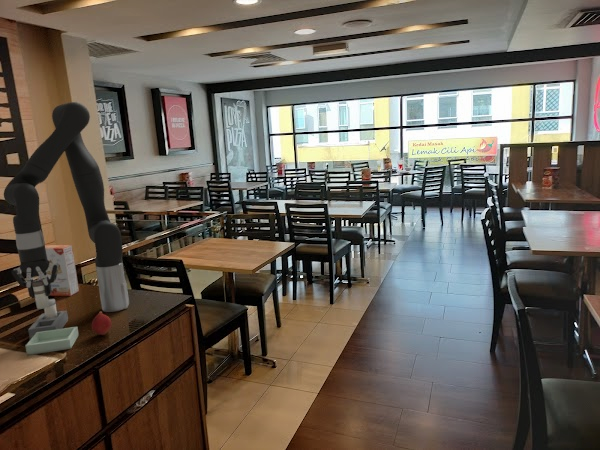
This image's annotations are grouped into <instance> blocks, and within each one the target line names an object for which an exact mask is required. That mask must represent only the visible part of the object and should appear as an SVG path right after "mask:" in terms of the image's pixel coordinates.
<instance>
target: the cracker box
mask: <svg viewBox="0 0 600 450" xmlns="http://www.w3.org/2000/svg"><path fill="white" fill-rule="evenodd" d="M45 249H46V254H47V259H48V261H49V262H50V263H52V264H56V263H58V264H59V268H58V273H57V277H56V280H55V281H54V282H53V283H51V289H52V292H51V294H50V295H49V296H51V297H71V296H74V295H75V294H78V293H79V292H80V288H79V281H78V276H77V275H78V274H77V270H76V269H77V268H76V264H75V258H74V256H75V255H74V250H73V245H72V244H65V245H64V244H56V245H55V244H53V245H50V244H49V245H46V244H45ZM47 273H48V277H49V279H50V278H51V273H52V270H50V267H48V269H47ZM37 278H38V279H41V278H40V276H37ZM38 279H37V280H38ZM49 296H48V297H49Z"/></svg>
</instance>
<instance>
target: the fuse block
mask: <svg viewBox="0 0 600 450" xmlns="http://www.w3.org/2000/svg"><path fill="white" fill-rule="evenodd" d="M57 315H58V317H56V318H48V319H46V317H45V312H44V313H41V315H39V317H38V318H37V319H36V320H34V322H33V323H32V325H31V326H30V327H29V328H28V337H29V341H30V340H31V338H32V337H33V336H34V335H35V334H36V332H42V331H49V330H56V329H63V328H64V326H65V325H66V323H67V322H68V321H69V315H68V311H67V310H60V311H57Z"/></svg>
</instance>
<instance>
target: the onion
mask: <svg viewBox="0 0 600 450" xmlns="http://www.w3.org/2000/svg"><path fill="white" fill-rule="evenodd" d="M112 326H113V325H112V319H111V318H110V317H109V316H108V315H106V314H104V313H103V311H99V313H98V314H97V315H96V316H95V317H94V318H93V319H92V321H91V329H92V331H93V332H94V333H96V334H97V335H101V336H105V335H106V334H107V333H108V332H109V331H110V330H111V328H112Z"/></svg>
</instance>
